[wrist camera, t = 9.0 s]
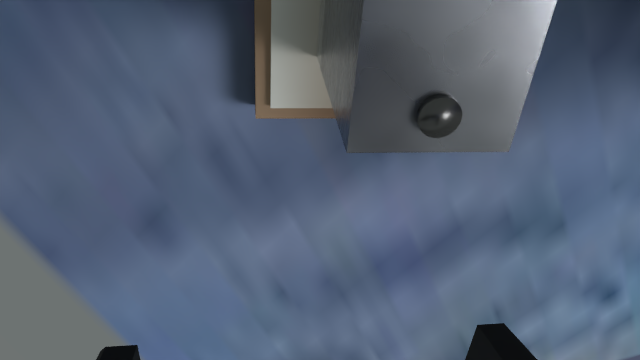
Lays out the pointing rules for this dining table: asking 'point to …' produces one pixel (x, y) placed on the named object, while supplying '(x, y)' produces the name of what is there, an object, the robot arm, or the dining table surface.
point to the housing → (429, 71)
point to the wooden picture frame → (288, 61)
